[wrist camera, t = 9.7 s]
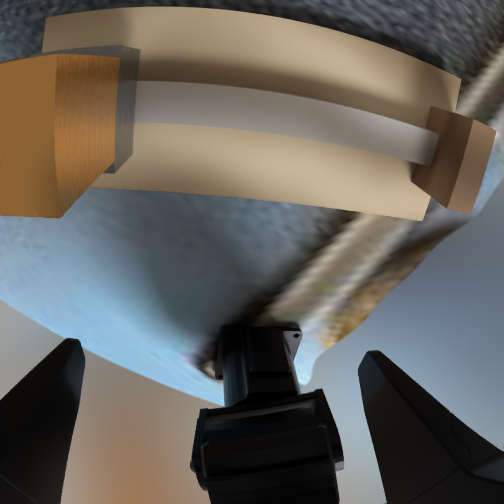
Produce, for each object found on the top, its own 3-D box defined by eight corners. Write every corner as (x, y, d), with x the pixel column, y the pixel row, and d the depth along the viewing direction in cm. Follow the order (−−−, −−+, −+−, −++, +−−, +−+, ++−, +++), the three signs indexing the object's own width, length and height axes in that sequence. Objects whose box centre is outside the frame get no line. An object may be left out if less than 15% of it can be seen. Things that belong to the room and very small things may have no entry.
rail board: (411, 211, 21) (454, 252, 16) (52, 178, 17) (8, 216, 12) (447, 77, 16) (505, 88, 11) (58, 20, 12) (6, 10, 7)
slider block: (132, 154, 14) (62, 235, 7) (58, 153, 13) (-41, 228, 7) (140, 49, 12) (59, 33, 5) (61, 54, 11) (-55, 62, 4)
